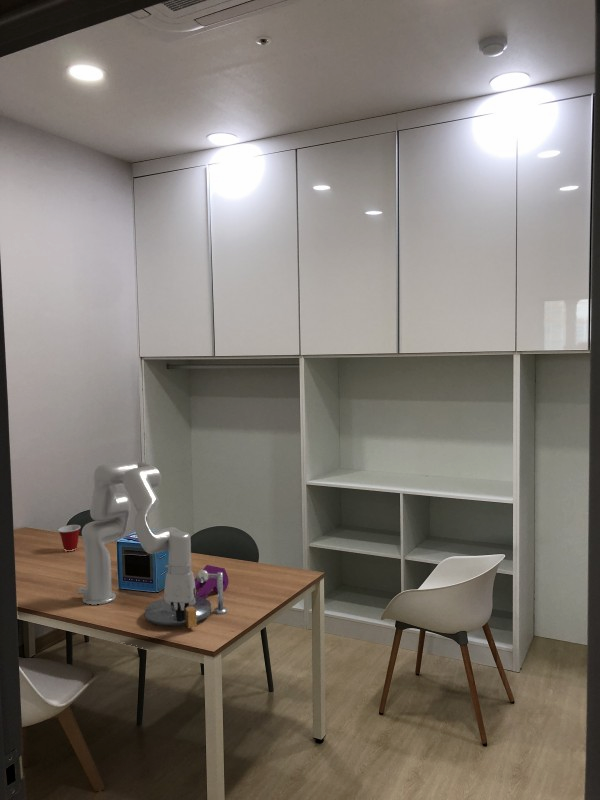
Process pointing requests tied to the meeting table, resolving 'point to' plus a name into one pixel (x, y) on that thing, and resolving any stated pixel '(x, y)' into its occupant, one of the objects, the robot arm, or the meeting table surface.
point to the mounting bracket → (211, 581)
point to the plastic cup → (69, 536)
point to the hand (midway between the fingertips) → (180, 620)
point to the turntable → (166, 616)
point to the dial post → (203, 577)
